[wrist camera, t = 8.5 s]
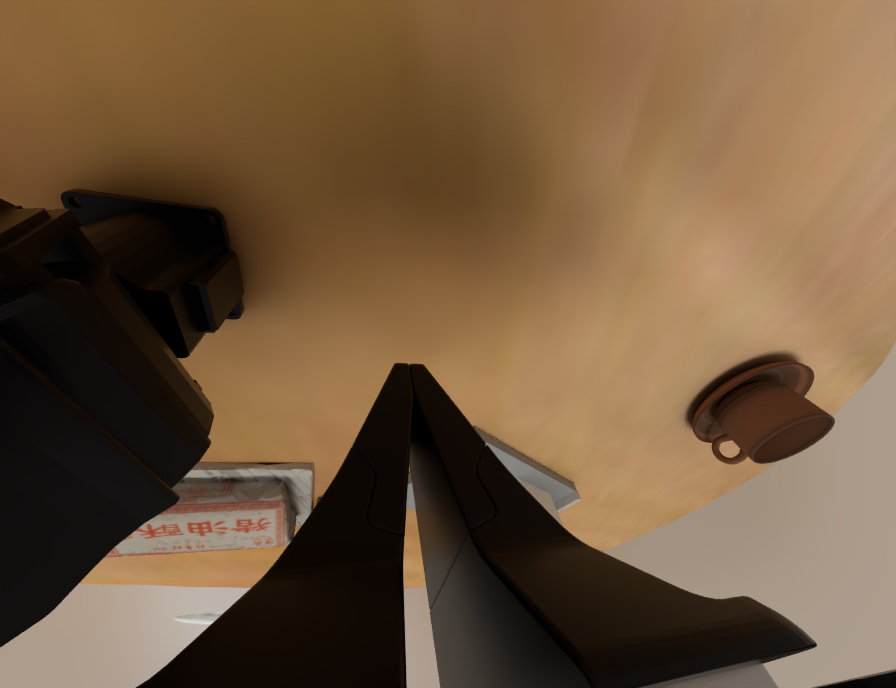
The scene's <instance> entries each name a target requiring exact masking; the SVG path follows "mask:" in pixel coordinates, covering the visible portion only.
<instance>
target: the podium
mask: <svg viewBox="0 0 896 688" xmlns="http://www.w3.org/2000/svg"><path fill="white" fill-rule="evenodd" d="M473 427H474V426H473ZM474 429H475V430H476V431H477V432H478V434H479V435H480V436H481V437H482V439H483V440H484V441H485V442H486V445H488V446H489V447H490V448H491V450H492V451H493V452H494V454H495V455H496V456H497V457H498V458H499V460H500V461H501V462H502V463H503V464H504V465H505V467H506V468H507V469H508V470H509V471H510V472H511V473H512V474H513V476H514V477H515V478H516V477H517V478H519V479H521V480H523V481H525V482H527V483H529V484H531V485H533V486H536V487H538V488H540V489H542V490H544V491H546V492H548V493H550V496H551V498H552V500H553V503H554V505H555V508H556V510H557V512H558V513H559V512H561V511H563V510H564V509H566V508H568V507H570V506H572V505H574V504H575V503H577V502H579V501H581V498H580V496H579V494H578V492H577V490H576V488H575V486H574V484H573V483H572V482H570V481H568V480H567V479H565V478H563V477H561V476H560V475H558V474H556V473H554V472H553V471H551V470H549V469H547V468H546V467H544V466H542V465H540V464H539V463H537V462H535V461H533V460H531V459H530V458H528V457H526V456H524V455H523V454H521V453H519V452H517V451H516V450H514V449H512V448H510V447H509V446H507V445H505V444H503V443H502V442H500V441H498V440H496V439H495V438H493V437H491V436H489V435H488V434H486V433H484V432H482V431H481V430H479V429H477V428H475V427H474ZM486 445H485V446H486ZM406 507H408V508H411V509H414V510H416V508H415V501H414V494H413V487H412V479H411V472H410V473H409V475H408V490H407V505H406Z"/></svg>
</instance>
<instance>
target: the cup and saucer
mask: <svg viewBox="0 0 896 688" xmlns="http://www.w3.org/2000/svg"><path fill="white" fill-rule="evenodd" d="M813 380H814V373H813V371H812V369H811V368H810V367H808V366H806V365H804V364H801V363H798V362H775V363H770V364H765V365H761V366H758V367H755V368H752V369H750V370H748V371H745V372H743V373H741V374H739V375H737V376H735V377H733V378H732V379H730V380H728V381H727V382H725V383H724V384H722V385H721V386H720V387H718V388H717V389H716V390H714V391H713V392H712V393H711V394H710V395H709V396H708V397H707V398H706V399H705V400H704V401H703V402H702V404H701V405H700V406H699V408H698V409H697V411H696V413H695V416H694V419H693V425H692V428H693V432H694V434H695V435H696V437H697V438H698V439H699V440H701V441H703V442H708V443H712V451H713V454H714V455H715V457H716V458H717V459H718V460H720V461H721V462H723V463H726V464H738V463H740V462H742V461H743V460H745V459H746V458H747V457H749V458H750V459H751V460H752V461H754V462H755V463H759V464H765V463H772V462H776V461H779V460H782V459H785V458H788V457H790V456H793V455H795V454H797V453H799V452H801V451H803V450H805V449H806V448H808V447H810V446H812V445H813V444H815V443H816V442H818V441H819V440H820V439H822V438H823V437H824V436H825V435H826V434H827V433H828V432H829V431H830V430H831V429H832V427H833V426H834V423H835V420H834V418H833V417H832V416H831V415H829V414H828V413H826V412H825V411H823V410H822V409H821V408H819V407H818V406H816V405H815V404H813V403H812V402H810V401H809V400H808V399H806V398H805V397H804V396H805V395H806V393H807V392H808V391H809V389H810V387H811V386H812V383H813ZM730 440H733V441H734V442H735V443H736V444H737V445H738V446H739V448H740V452H739V454H738V455H737V456H735V457H733V458H727V457H725V456H723V455H722V454H721V453H720V451H719V446H720V444H721V443H722V442H726V441H730Z"/></svg>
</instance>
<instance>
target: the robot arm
mask: <svg viewBox="0 0 896 688" xmlns="http://www.w3.org/2000/svg"><path fill="white" fill-rule="evenodd" d="M74 198H77V199H78V200H80V201H81V203H82V206H81V205H79V204H78V203H77V202H76V201H75V199H74ZM61 200H62V203H63V205H64V207H65V209H57V210H45V208H31V209H23V208H22V206H15V205H13V204H11V203H9V202H7V201H5V200H2V199H0V647H2V646H3V645H5V644H6V643H8V642H9V641H11V640H12V639H14V638H15V637H16V636H18V635H19V634H21V633H22V632H24V631H25V630H27V629H28V628H30V627H31V626H33V625H34V624H36V623H37V622H39V621H40V620H42V619H43V618H44V617H46V616H47V615H48V614H50V612H51V611H53V610H54V609H55V608H56V607H57V606H58V605H59V604H60V603H61V602H62V600H63V599H64V598H65V597H66V596H67V595H68V594H69V593H70V592H71V591H72V590H73V589H74V588H75V587H76V586H77V585H78V584H79V583H80V582H81V581H82V579H83V578H84V577H85V576H86V575H87V574H88V573H89V572H90V571H91V570H92V569H93V568H94V567H95V566H96V565H97V564H98V563H99V562H100V561H101V560H102V559H103V558H104V557H105V556H106V555H107V554H108V553H109V552H110V551H111V550H112V549H113V548H114V547H115V546H117V545H118V544H119V543H121V542H122V541H123V540H124V539H126V538H127V537H128V536H129V535H131V534H132V533H133V532H134V531H136V530H137V529H138V528H139V527H141V526H142V525H143V524H144V523H146V522H148V521H149V520H151V519H152V518H154V517H156V516H157V515H159V514H161V513H162V512H164V511H165V510H167V509H169V508H170V507H172V506H174V505H175V504H176V503H177V502H178V501H179V499H180V496H179V495H178V494H177V493H176V492H175V491H174V490H172V488H173V487H175V486H176V485H177V484H178V483H179V482H180V481H181V480H182V479H183V478H184V477H185V476H186V475H187V474H188V473H189V472H190V471H191V470H192V469H193V468H194V466H195V465H196V464H197V463H198V462H199V461H200V460H201V458H202V457H203V455H204V454H205V452H206V451H207V449H208V448H209V446H210V444H211V441H210V439H209V438H208V435H209V434H210V430H211V426H212V422H213V418H214V414H213V411H212V407H211V403H210V402H209V400H208V399H207V398H206V396H205V395H204V394H203V392H202V388H201V387H200V385H199V384H198V383H197V381H196V380H193V379H192V378H191V376H190V375H189V373H188V372H187V371H186V369H185V368H184V367H183V365H182V364H181V363H180V361H179V360H178V359H177V358H187V357H188V356H189V355H190V354H191V352H192V351H193V350H194V348H195V347H196V346H197V344H198V343H199V342H200V340H201V339H202V338H203V336H204V335H205V334H206V333H214V332H215V331H217V330H218V329H219V328H220V326H221V325H222V323H223V322H224V321H225V319H233V320H234V319H238V318H240V317H241V315H242V314H243V306H242V301H241V297H242V295H243V294H244V289H243V284H242V279H241V274H240V269H239V264H238V259H237V255H236V253H235V252H234V251H233V250H232V249H231V248H230V243H229V239H228V234H227V229H226V224H225V219H224V217H223V215H222V214H221V213H220V212H219V211H218V210H216V209H214V208H210V207H202V206H195V205H188V204H180V203H173V202H166V201H158V200H151V199H143V198H136V197H129V196H121V195H114V194H107V193H99V192H92V191H85V190H77V189H74V190H69V191H65V192H63V193H62V194H61ZM208 215H211V216H213V217H214V218H215V220H216V223H214V222H211V221H210V220H209V219H208ZM232 309H233V310H235V311H236V313H234V312H232ZM485 445H486V442H485V441H484V440H483V439H482V437H481V436H480V435H479V434H478V432H477V431H476V430H475V429H474V427H473V426H472V425H471V424H470V422H469V421H468V420H467V419H466V417H465V416H464V415H463V413H462V412H461V411H460V410H459V408H458V407H457V406H456V405H455V403H454V402H453V401H452V400H451V398H450V397H449V396H448V395H447V393H446V392H445V391H444V390H443V388H442V387H441V386H440V385H439V383H438V382H437V381H436V380H435V378H434V377H433V376H432V375H431V373H430V372H429V371H428V370H427V368H426V367H425V366H424V365H423V364H410V365H409V364H407V363H395V364H394V366H393V367H392V369H391V371H390V373H389V375H388V377H387V379H386V381H385V383H384V385H383V387H382V389H381V391H380V393H379V395H378V397H377V399H376V401H375V402H374V404H373V406H372V408H371V410H370V412H369V414H368V416H367V418H366V420H365V422H364V424H363V426H362V428H361V430H360V432H359V434H358V436H357V437H356V439H355V441H354V443H353V446H352V447H351V449H350V451H349V453H348V455H347V456H346V458H345V460H344V462H343V464H342V466H341V467H340V469H339V471H338V473H337V474H336V476H335V478H334V479H333V481H332V482H331V484H330V486H329V487H328V489H327V490H326V492H325V493H324V495H323V496H322V498H321V499H320V501H319V502H318V503H317V505H316V506H315V508H314V509H313V511H312V512H311V513H310V515H309V516H308V518H307V519H306V521H305V522H304V523H303V525H302V526H301V528H300V529H299V531H298V532H297V533H296V535H295V536H294V538H293V539H292V541H291V542H290V543H289V545H288V546H287V548H286V549H285V550H284V552H283V553H282V554H281V556H280V557H279V558H278V560H277V561H276V562H275V563H274V565H273V566H272V567H271V568H270V569H269V571H268V572H267V573H266V574H265V575H264V576H263V577H262V578H261V579H260V580H259V581H258V582H257V583H256V584H255V585H254V586H253V587H252V588H251V589H250V590H249V591H247V593H245V594H244V595H243V596H242V597H241V598H240V599H239V600H238V601H236V602H235V603H234V604H233V605H232V606H231V607H230V608H229V609H228V610H227V611H226V612H224V613H223V614H222V615H221V616H220V617H219V618H218V619H217V620H216V621H214V622H213V623H212V624H211V625H210V626H209V627H208V628H207V629H206V630H205V631H204V632H202V633H201V634H200V635H199V636H198V637H197V638H196V639H195V640H194V641H193V642H192V643H190V644H189V645H188V646H187V647H186V648H185V649H184V650H183V651H182V652H180V653H179V654H178V655H177V656H176V657H175V658H174V659H173V660H172V661H171V662H169V663H168V664H167V665H166V666H165V667H164V668H163V669H161V670H160V671H159V672H157V673H156V674H155V675H154V676H153V677H151V678H150V679H149V680H147V681H145V682H144V683H142V684H141V685H139V686H138V687H136V688H407V686H406V655H405V654H406V653H405V622H404V621H405V619H404V587H403V553H404V536H405V521H406V505H407V490H408V475H409V465H410V472H411V479H412V487H413V494H414V501H415V508H416V515H417V522H418V530H419V537H420V544H421V551H422V558H423V566H424V573H425V580H426V587H427V594H428V601H429V608H430V610H431V611H430V617H431V624H432V631H433V638H434V645H435V652H436V659H437V667H438V673H439V681H440V688H778V687H777V685H776V683H775V682H774V681H773V679H772V677H771V676H770V674H769V673H768V671H767V670H766V669H765V667H764V666H763V663H766V662H770V661H773V660H776V659H780V658H783V657H786V656H790V655H793V654H796V653H800V652H803V651H806V650H809V649H812V648H814V647H816V646H817V644H816V643H815V641H814V640H812V639H811V638H810V637H809V636H808V635H807V634H806V633H805V632H804V631H803V630H801V629H800V628H799V627H798V626H797V625H795V624H794V623H793V622H791V621H790V620H788V619H787V618H786V617H784V616H782V615H781V614H779V613H778V612H776V611H774V610H772V609H771V608H769V607H767V606H765V605H763V604H761V603H759V602H757V601H756V600H754V599H752V598H750V597H747V596H740V597H732V598H727V599H713V598H707V597H703V596H699V595H697V594H694V593H690V592H688V591H685V590H683V589H681V588H678V587H676V586H674V585H672V584H670V583H668V582H665V581H663V580H661V579H659V578H657V577H655V576H653V575H650V574H648V573H646V572H644V571H642V570H639V569H637V568H635V567H633V566H631V565H629V564H627V563H625V562H622V561H620V560H618V559H616V558H614V557H612V556H609V555H607V554H605V553H603V552H601V551H599V550H597V549H594V548H592V547H590V546H588V545H587V544H585V543H583V542H582V541H580V540H579V539H577V538H576V537H575V536H573V535H572V534H571V533H570V532H568V531H567V530H566V529H565V528H564V527H563V526H562V525H561V524H560V523H559V522H558V521H557V520H556V519H555V518H554V517H553V516H552V515H551V514H550V513H549V512H548V511H547V510H546V509H545V508H544V507H543V506H542V505H541V504H540V503H539V502H538V501H537V500H536V499H535V498H534V497H533V496H532V494H531V493H530V492H529V491H528V490H527V489H526V488H525V487H524V486H523V485H522V484H521V483H520V482H519V481H518V480H517V479H516V478H515V477H514V476H513V474H512V473H511V472H510V471H509V470H508V469H507V468H506V467H505V465H504V464H503V463H502V462H501V461H500V460H499V458H498V457H497V456H496V455H495V454H494V452H493V451H492V450H491V448H490V447H489V446H488V445H486V446H485ZM813 688H896V669H895V670H890V671H886V672H881V673H877V674H872V675H867V676H863V677H858V678H854V679H849V680H845V681H840V682H835V683H831V684H826V685H822V686H817V687H813Z"/></svg>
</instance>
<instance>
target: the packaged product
mask: <svg viewBox="0 0 896 688" xmlns="http://www.w3.org/2000/svg"><path fill="white" fill-rule="evenodd" d="M313 486H314V471H313V465H312V463H285V464H272V465H264V464H258V463H199V462H198V463H197V464H196V465H195V466H194V468H193V469H192V470H191V471H190V472H189V473H188V474H187V475H186V476H185V477H184V478H183V479H182V480H181V481H180V482H179V483H178V484H177V485H176V486H175V487H173V488H172V490H174V491H175V492H176V493H177V494H178V495H179V496H180V499H179V501H178V502H177V503H176V504H175V505H174V506H172V507H170V508H169V509H167V510H165V511H164V512H162V513H161V514H159V515H157V516H156V517H154V518H152V519H151V520H149V521H148V522H146V523H144V524H143V525H142V526H141V527H139V528H138V529H137V530H136V531H134V532H133V533H132V534H131V535H129V536H128V537H127V538H126V539H124V540H123V541H122V542H121V543H119V544H118V545H117V546H115V547H114V548H113V549H112V550H111V551H110V552H109V553H108V554H107V555H106V556H105V557H121V556H130V555H131V556H139V555H160V554H172V553H190V552H205V551H223V550H239V549H254V548H269V547H280V546H286V545H288V544H289V543H290V542H291V541H292V539H293V537H294V532H295V526H299V525H303V523H304V522H305V521H306V519H307V518H308V516H309V515H310V513H311V512H312V511H313V509H312V497H313ZM105 557H104V558H105Z"/></svg>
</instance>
